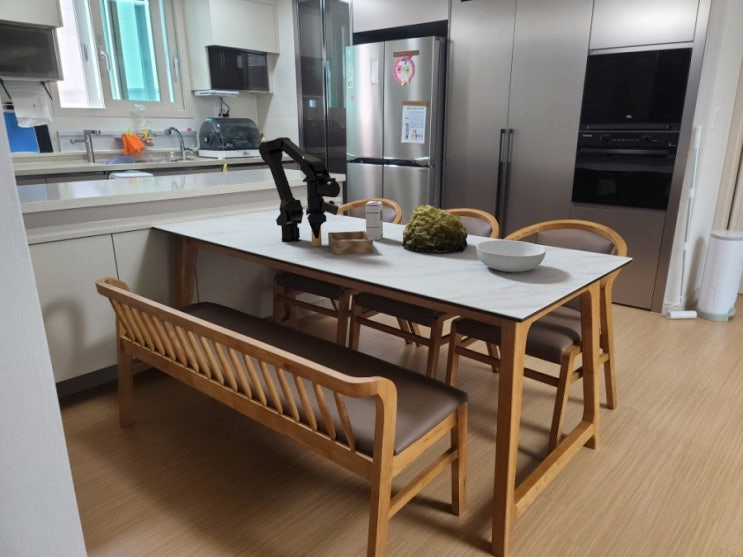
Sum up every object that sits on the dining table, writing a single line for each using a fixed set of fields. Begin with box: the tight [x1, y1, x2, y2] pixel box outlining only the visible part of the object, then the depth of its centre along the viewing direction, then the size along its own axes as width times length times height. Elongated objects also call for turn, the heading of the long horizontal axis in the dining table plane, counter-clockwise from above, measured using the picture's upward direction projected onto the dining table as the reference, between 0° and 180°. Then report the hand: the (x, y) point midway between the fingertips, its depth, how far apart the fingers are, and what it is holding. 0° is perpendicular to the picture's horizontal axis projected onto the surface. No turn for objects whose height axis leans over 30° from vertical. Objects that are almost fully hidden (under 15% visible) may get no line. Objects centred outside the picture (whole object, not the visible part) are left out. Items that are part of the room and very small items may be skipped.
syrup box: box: [365, 200, 384, 241], centre depth 201 cm, size 6×6×14 cm
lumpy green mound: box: [401, 204, 469, 254], centre depth 187 cm, size 25×24×16 cm
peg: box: [310, 227, 323, 247], centre depth 191 cm, size 4×4×9 cm
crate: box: [327, 230, 374, 255], centre depth 187 cm, size 14×17×4 cm
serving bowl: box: [475, 239, 547, 273], centre depth 159 cm, size 21×21×7 cm
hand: (316, 237), depth 191 cm, fingers closed on peg, 4 cm apart
